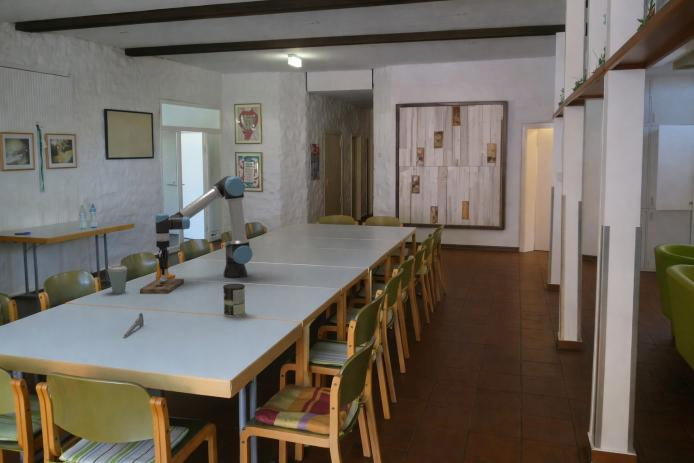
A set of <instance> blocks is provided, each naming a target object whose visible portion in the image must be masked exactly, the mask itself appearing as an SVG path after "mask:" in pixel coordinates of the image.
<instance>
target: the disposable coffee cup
mask: <svg viewBox="0 0 694 463" xmlns="http://www.w3.org/2000/svg"><path fill="white" fill-rule="evenodd" d="M107 272H108V273H107V274H108V277H109V281H110V282H109V283H110V285H111V290H112V293H113V294H115V295H116V294H117V295H118V294H124V293H126V287H127V275H128V268H127V266H125V265H121V264H120V265H119V264H118V265H116V264H115V265H111V266H108V268H107Z"/></svg>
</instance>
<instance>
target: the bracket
mask: <svg viewBox="0 0 694 463" xmlns="http://www.w3.org/2000/svg"><path fill="white" fill-rule="evenodd" d="M159 268H160V267H159V262H158V263H157V268H156V274H155V280H156V279H160V278H161V269H159ZM169 269H170V262H169V261H168V269H166V270H167V279H176V274H171V273H169Z"/></svg>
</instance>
